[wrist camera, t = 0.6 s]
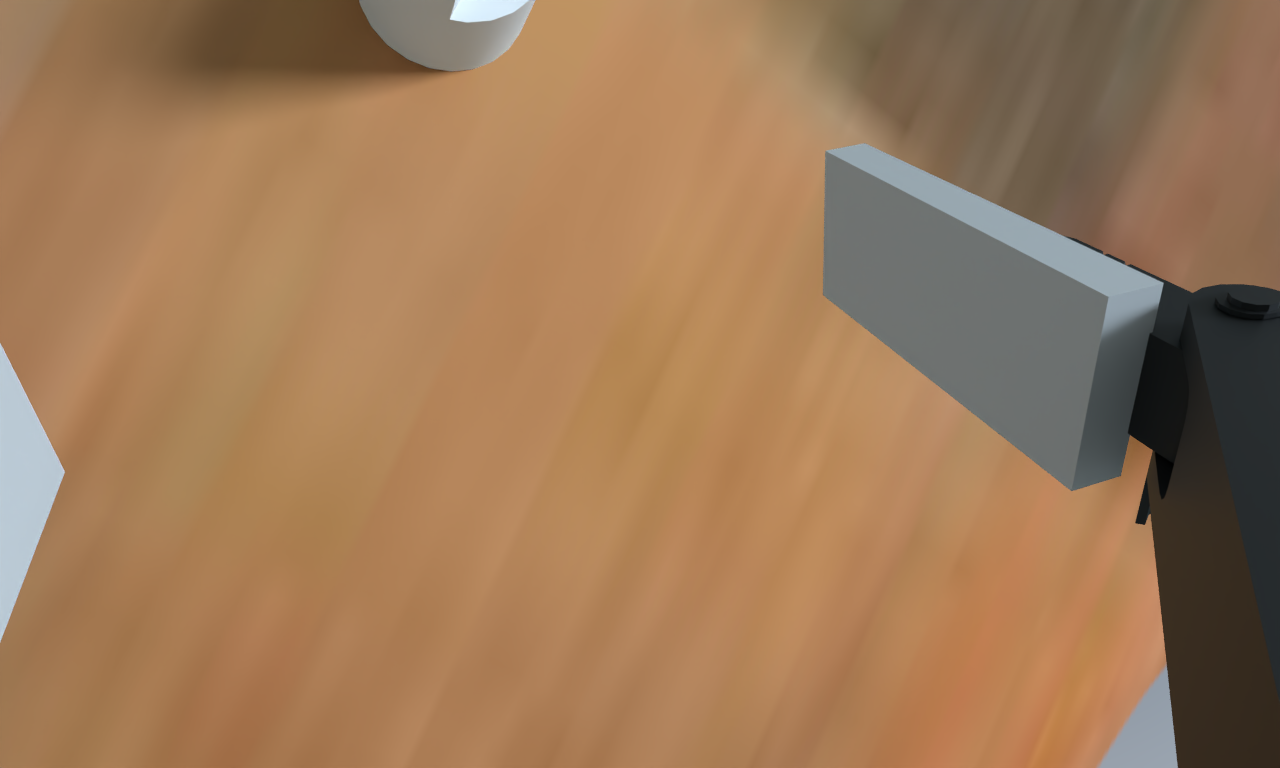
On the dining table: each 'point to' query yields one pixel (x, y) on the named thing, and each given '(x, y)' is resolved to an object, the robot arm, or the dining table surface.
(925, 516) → the dining table surface
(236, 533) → the dining table surface
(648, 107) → the dining table surface
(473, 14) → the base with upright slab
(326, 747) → the dining table surface
